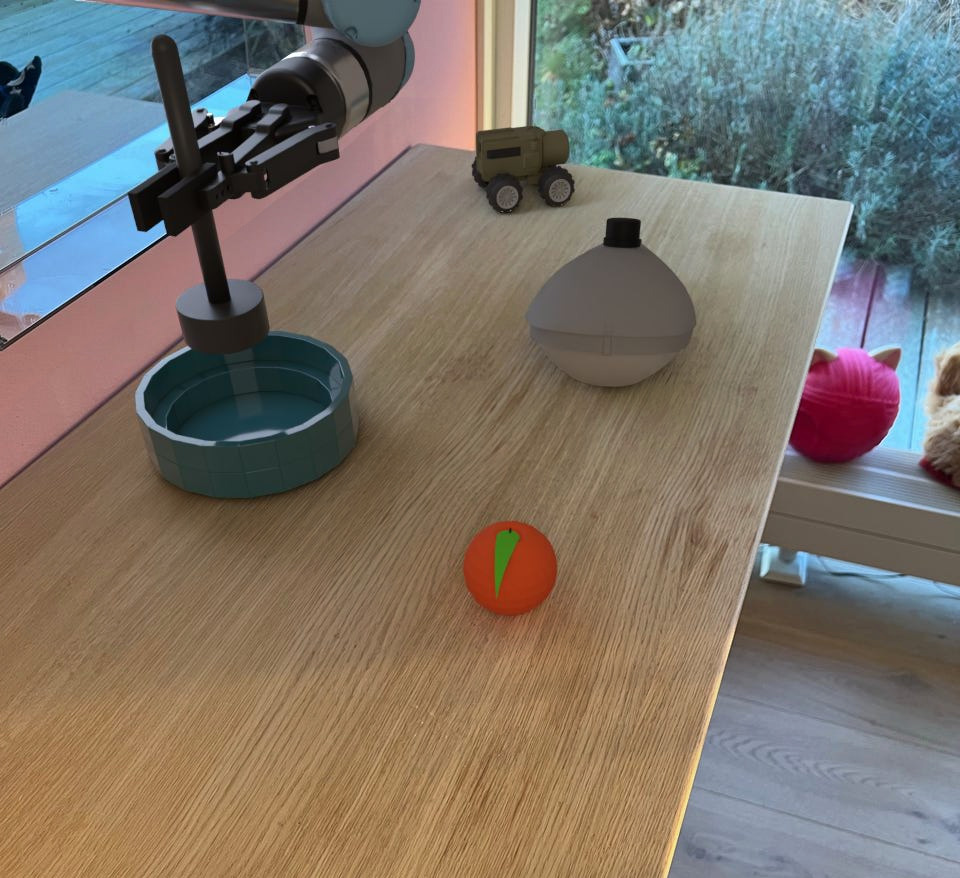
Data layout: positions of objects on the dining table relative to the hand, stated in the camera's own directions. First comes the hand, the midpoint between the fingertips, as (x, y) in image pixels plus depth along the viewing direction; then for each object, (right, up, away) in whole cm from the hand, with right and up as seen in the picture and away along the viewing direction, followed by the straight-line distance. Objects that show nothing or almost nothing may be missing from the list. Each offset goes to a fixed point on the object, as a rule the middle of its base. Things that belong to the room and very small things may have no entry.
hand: (152, 214), depth 73 cm
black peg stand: (+2, -5, +12) cm, 13 cm away
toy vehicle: (+28, +26, +58) cm, 70 cm away
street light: (+36, -1, +31) cm, 48 cm away
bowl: (+3, -12, +21) cm, 24 cm away
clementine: (+25, -28, +5) cm, 38 cm away
